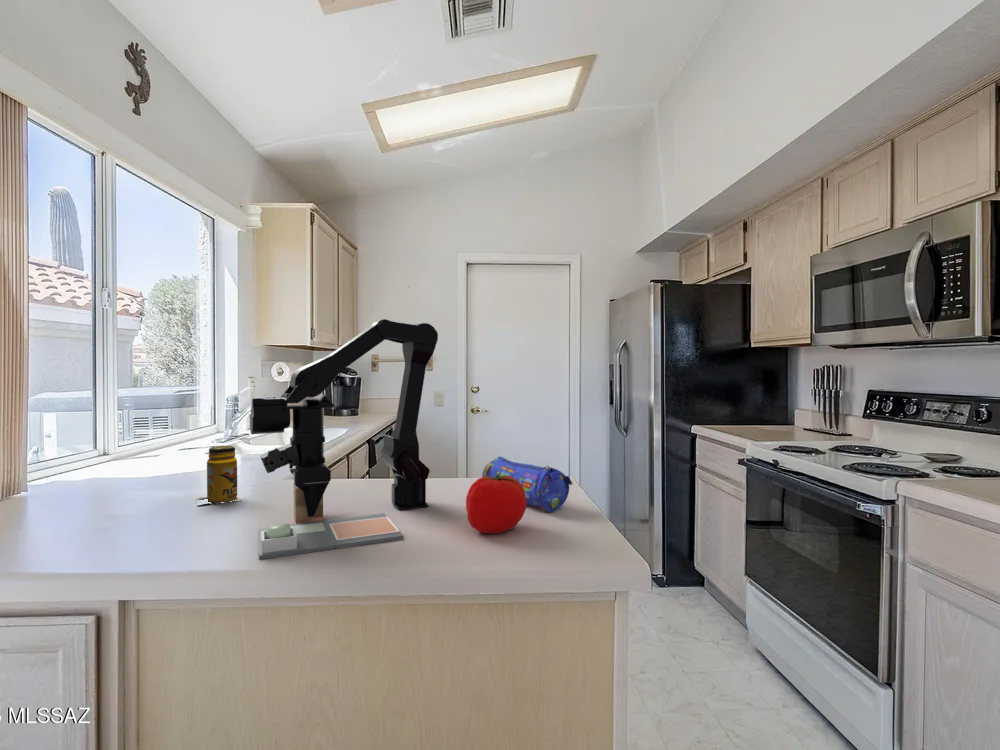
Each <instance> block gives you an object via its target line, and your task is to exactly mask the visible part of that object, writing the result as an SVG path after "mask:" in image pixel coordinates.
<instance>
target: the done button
mask: <svg viewBox="0 0 1000 750" xmlns="http://www.w3.org/2000/svg"><path fill="white" fill-rule="evenodd" d="M290 525H291V524H290V523H283V522H281V523H273V524H270V525H268V526H266V527H267V539H274V538H282V537H290Z"/></svg>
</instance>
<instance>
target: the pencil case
mask: <svg viewBox="0 0 1000 750" xmlns="http://www.w3.org/2000/svg"><path fill="white" fill-rule="evenodd" d="M484 475H485V476H484ZM496 475H499V477H500V476H510V477H512V478H514V479H516V480H517V481H519V482H520V484H521V485H522V487H523V488H524V492H525V496H526V501H527V503H526V505H529V506H531V507H536V508H539V509H542V510H544V511H545V512H548V513H552V512H553V513H555V511H556V512H557V511H558V510H560V509H561V507H563V506H564V504H565V503H566V501H567V499H568V496H569V493H570V486H572V485H573V484H574V483H573V481H572V480H571V478H570V476H569V475H566V474H564V472H562V471H560V470H558V469H557V468H553V467H551V466H550V465H546V466H540V465H534V464H528V463H521V462H515V461H511V460H509V459H507V458H505V457H503V456H497V457H496V458H495V459H492V460H491V461H489V462H488V463H486V464H485V466H484V468H483V470H482V474H481V478H482V477H487V476H491V477H496ZM553 513H552V514H553Z"/></svg>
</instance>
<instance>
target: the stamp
mask: <svg viewBox="0 0 1000 750" xmlns="http://www.w3.org/2000/svg"><path fill="white" fill-rule="evenodd" d="M293 520H294V524H295V523H296V524H300V523H308V522H316V521H324V495H323V496H322V499H321V501H320V503H319V505H318V508H317V510H316V512H315V515H314V516H311V517H308V515H307V510H306V505H305V500H304V495H303V491H302V490H301V489H299V488H298V487H296V486H295V484H294V483H293Z"/></svg>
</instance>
